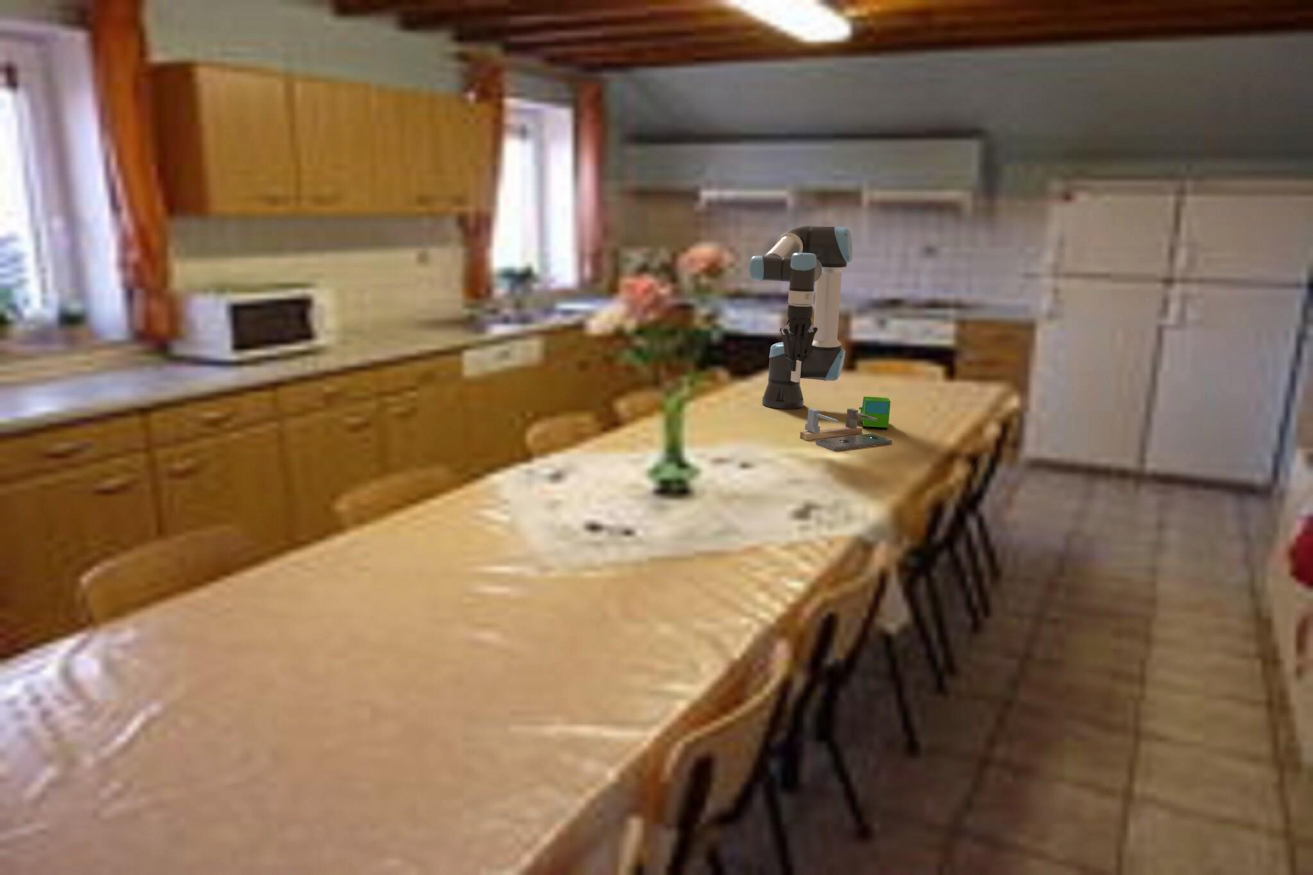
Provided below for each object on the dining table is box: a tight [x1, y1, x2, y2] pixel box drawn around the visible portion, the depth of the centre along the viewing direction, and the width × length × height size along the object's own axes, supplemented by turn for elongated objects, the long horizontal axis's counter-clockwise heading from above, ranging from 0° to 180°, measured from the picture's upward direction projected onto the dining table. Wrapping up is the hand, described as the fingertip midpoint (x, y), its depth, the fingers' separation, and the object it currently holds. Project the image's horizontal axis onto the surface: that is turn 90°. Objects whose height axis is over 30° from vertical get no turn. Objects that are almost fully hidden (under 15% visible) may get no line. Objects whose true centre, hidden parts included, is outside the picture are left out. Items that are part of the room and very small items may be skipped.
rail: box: [799, 407, 878, 441], centre depth 299 cm, size 13×23×8 cm, turn 119°
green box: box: [858, 396, 891, 430], centre depth 319 cm, size 10×13×10 cm
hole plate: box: [815, 432, 893, 452], centre depth 295 cm, size 9×23×1 cm, turn 119°
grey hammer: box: [804, 407, 839, 433], centre depth 295 cm, size 14×2×7 cm, turn 29°
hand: (795, 381), depth 292 cm, fingers closed
